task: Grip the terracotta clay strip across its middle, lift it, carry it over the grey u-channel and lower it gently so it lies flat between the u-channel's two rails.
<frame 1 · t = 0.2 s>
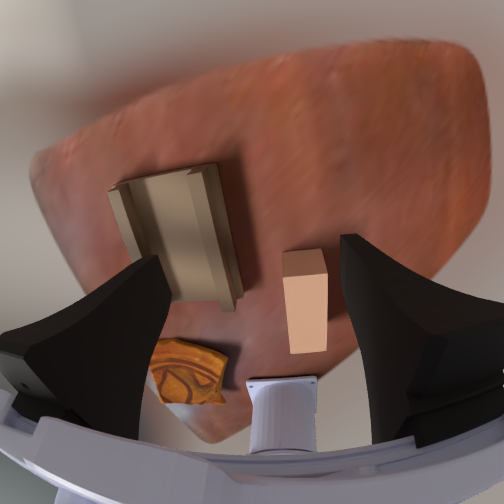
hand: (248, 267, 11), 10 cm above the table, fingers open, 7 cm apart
pottery fragment: (191, 364, 31), on the table
clay strip: (304, 290, 24), on the table
grey u-channel: (181, 240, 22), on the table
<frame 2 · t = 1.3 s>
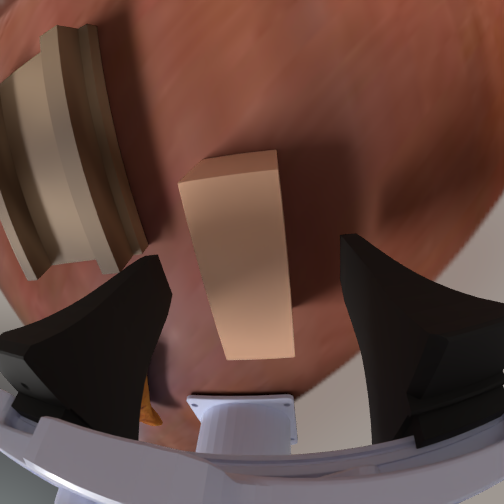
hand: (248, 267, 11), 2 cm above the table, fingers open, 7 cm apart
pottery fragment: (111, 365, 20), on the table
clay strip: (252, 240, 13), on the table
grey u-channel: (54, 158, 11), on the table
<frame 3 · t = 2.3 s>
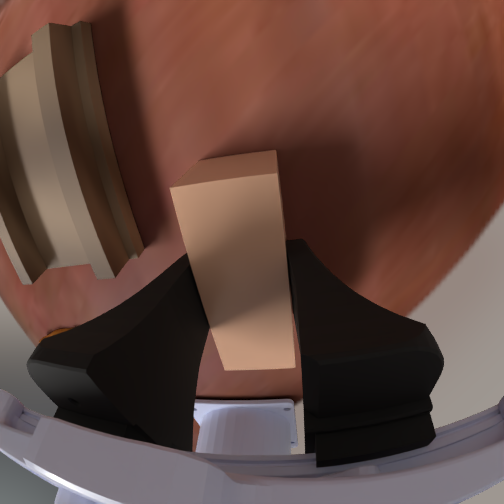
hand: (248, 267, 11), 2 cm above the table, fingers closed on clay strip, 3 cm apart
clay strip: (251, 245, 13), on the table, touching gripper
grey u-channel: (48, 159, 11), on the table
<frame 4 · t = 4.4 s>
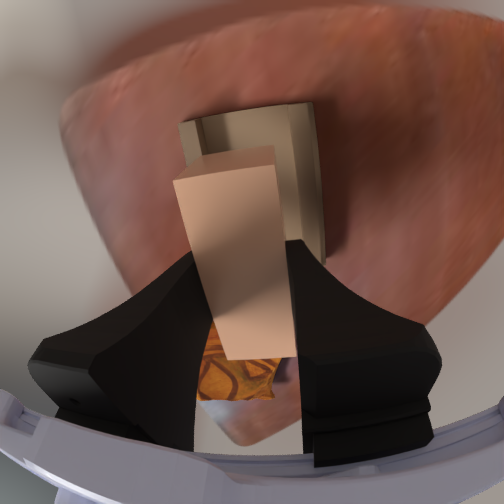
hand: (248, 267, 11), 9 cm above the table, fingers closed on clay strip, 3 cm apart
pottery fragment: (238, 352, 27), on the table
clay strip: (252, 238, 13), point 6 cm above the table, touching gripper
grey u-channel: (258, 193, 19), on the table
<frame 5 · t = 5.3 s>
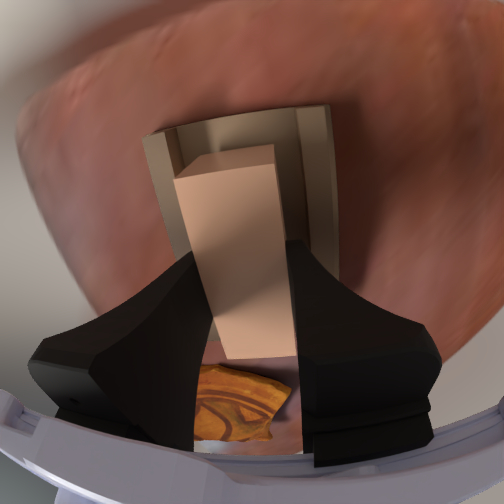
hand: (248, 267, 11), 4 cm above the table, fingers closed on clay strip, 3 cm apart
pottery fragment: (231, 393, 23), on the table
clay strip: (252, 237, 13), point 1 cm above the table, touching gripper
grey u-channel: (254, 226, 14), on the table
when the fingers open (3 cm above the table, at t = 6.1 s): clay strip stays where it is, resting on grey u-channel.
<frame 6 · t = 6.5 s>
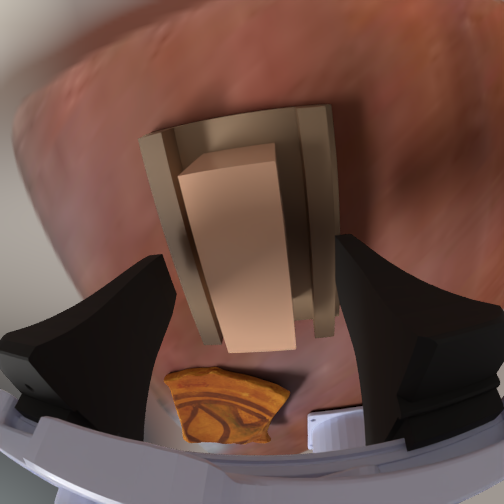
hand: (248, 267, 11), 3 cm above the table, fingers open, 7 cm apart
pottery fragment: (229, 395, 23), on the table
clay strip: (253, 233, 13), point 1 cm above the table, touching grey u-channel
grey u-channel: (254, 228, 14), on the table
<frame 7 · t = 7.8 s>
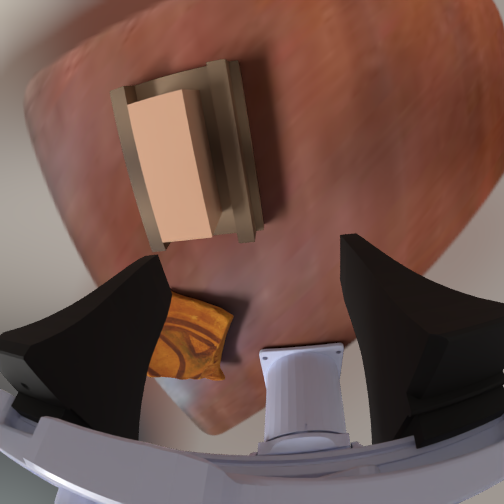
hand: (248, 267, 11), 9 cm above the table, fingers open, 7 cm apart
pottery fragment: (186, 327, 27), on the table
clay strip: (187, 156, 17), point 1 cm above the table, touching grey u-channel
grey u-channel: (190, 155, 18), on the table
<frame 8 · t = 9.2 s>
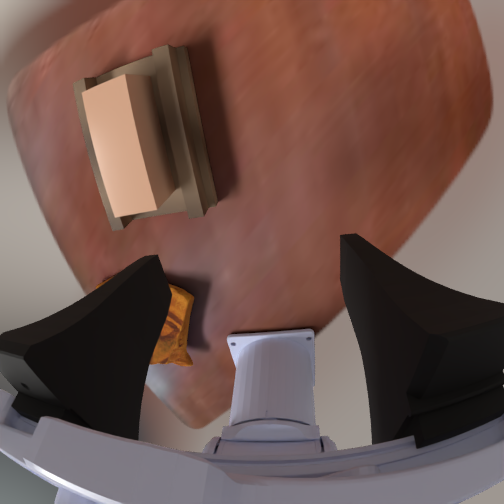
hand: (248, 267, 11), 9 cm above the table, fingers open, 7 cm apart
pottery fragment: (154, 311, 27), on the table
clay strip: (141, 138, 17), point 1 cm above the table, touching grey u-channel
grey u-channel: (146, 138, 18), on the table
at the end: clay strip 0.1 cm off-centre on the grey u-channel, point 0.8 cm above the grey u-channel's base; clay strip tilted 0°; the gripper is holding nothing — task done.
